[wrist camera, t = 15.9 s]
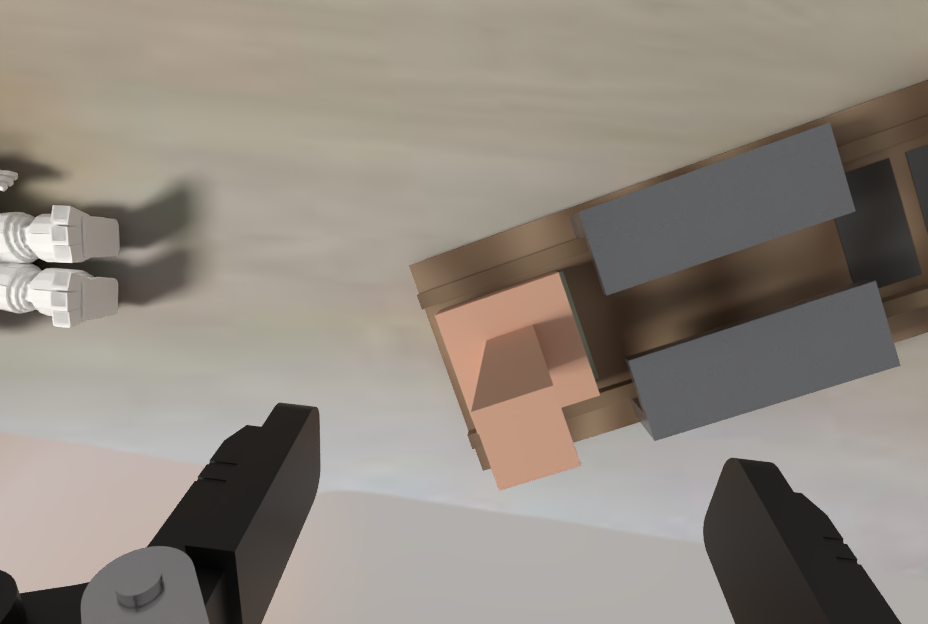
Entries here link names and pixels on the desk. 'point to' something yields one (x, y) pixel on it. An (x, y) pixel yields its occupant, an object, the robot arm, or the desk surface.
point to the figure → (56, 240)
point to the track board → (719, 262)
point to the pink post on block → (520, 375)
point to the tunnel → (724, 232)
